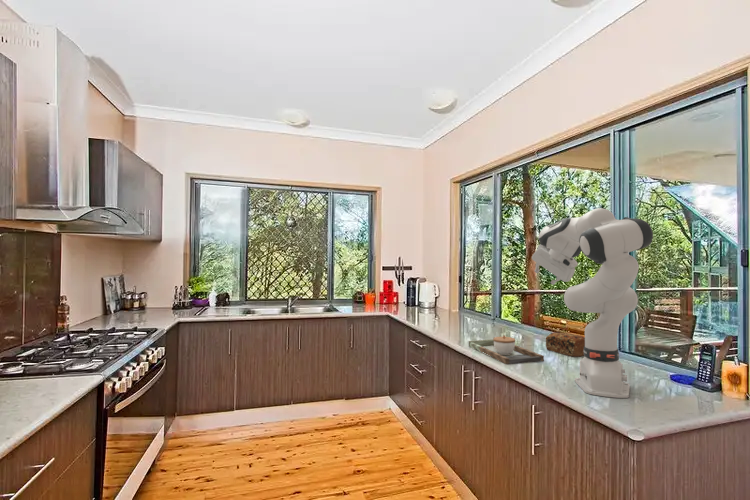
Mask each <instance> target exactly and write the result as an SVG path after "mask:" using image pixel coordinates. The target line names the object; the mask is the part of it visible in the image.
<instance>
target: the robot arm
mask: <svg viewBox="0 0 750 500" xmlns="http://www.w3.org/2000/svg"><path fill="white" fill-rule="evenodd" d="M653 233H654V232H653V229H652V226H651V225H650V224H649V223H648V222H647V221H645V220H644V219H641V218H633V217H632V218H631V217H628V216H624V218H622V219H616V217H615V215H614V213H613V212H612V211H611V210H609V209H607V208H603V207H599V208H594V209H592V210H589V211H587V212H585V213H584V214H582V215H581V216H578V217H565V218H563V219H560V220H558V221H556V222H555V223H552V224H551V223H550V224H546V225H545V226H544V227H543V228H542V229H541V230H540V232H539V234H538V238H537V239H538V241H539V245H538V247H537V248H536V250H535V251H534V253H533V254H532V256H531V260H532V261H534V262H535V269H534V272H535V273H536V274H539V272H540V266H541V267H542V268H543V269H545V270H546V271H548V272H549V273H551V274H552V275H554V276H555V277H556V278H555V279H552V280H551V281H550V284H551V285H552V286H554V285H555V284H556V283H558V282H559V281H563V282H564V283H566V282H570V281H571V280H572V278H573V276H574V274H575V272H576V269H575V268H576V267H578V265H579V263H578V261H577V260H576V259H575V258H576V257H578V256H580V254H581V253H582V254H583V255H584V256H585V257H587V258H588V259H589V260H591V261H594V263H595V264H597V265H598V264H599V265H600V267H599V269H598V270H597V272H596V273H595V275H594V276H592V277H591V278H589V279H587V280H585V281H584V282H582V283H579V284H576V285H571V286H569V287H568V288H566V290H565V292H564V295H563V301H564V304H565V307H567V309H568V310H570V311H572V312H579V313H585V314H587V313H589V314H590V313H592V314H593V313H595V314H599V317H598V318H597V319H596V320H594V321H592V322H589V323H588V324H587V325H586V326H585V328H584V338H585V346H584V349H583V352H584V356H583V358H581V359H580V360H579V377H575V378H574V382H575V383H576V384H577V385H578V387H580V389H581V390H582V391H583V392H584V393H585V394H588V395H594V396H598V397H599V396H600V397H605V398H617V399H627V398H629V397H630V389H631V388H630V387H631V385H630V383H627V382H628V375H626V374H625V373H626V369H624V367H623V363H622V362H621V361H620V353H619V349H618V333H619V327H620V324H621V323H622V321H623V320H624V318H626V316H627V315H628V314H630V313H631V312H633V311H635V309H636V308H637V306H638V304H639V301H638V300H639V299H638V294H637V292H636V291H635V290H634V289H633V288H632V287H631V286H632V285H633V283H634V282H635V280H636V278H637V275H638V274H639V269H640V265H639V262H638V260H637V259H636V258H635V257H634V256H633V255H630V254H629V253H631V252H634V251H636V250H637V251H641V250H643V249H645V248H647V247H648V246H650V245H651V244H652V241H653V239H654V235H653Z"/></svg>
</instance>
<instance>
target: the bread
mask: <svg viewBox="0 0 750 500" xmlns="http://www.w3.org/2000/svg"><path fill="white" fill-rule="evenodd" d="M584 346H585V336H583V335H577V334H572V333H565V332H564V333H563V332H551V333H550V334H548V335H547V336H546V337H545V348H546V350H547V351H551V352H554V353H556V354H557V353H558V354H561V355H565V356H567V357H572V358H573V357H575V358H579V357H584V352H583V349H584Z"/></svg>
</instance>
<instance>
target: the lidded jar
mask: <svg viewBox="0 0 750 500" xmlns="http://www.w3.org/2000/svg"><path fill="white" fill-rule="evenodd" d="M493 340H494V345H493V346H494V349H495V351H496V353H498V354H500V355H502V356H511V354H512V353H514V348H515V345H516V339H515V338H514V337H509V336H506V335H502V336H495V337H493Z"/></svg>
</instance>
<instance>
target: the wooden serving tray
mask: <svg viewBox="0 0 750 500" xmlns="http://www.w3.org/2000/svg"><path fill="white" fill-rule="evenodd" d="M469 346H470V347H469ZM488 346H489V347H490V346H494V340H493V339H482V340H481V339H479V340H478V339H477V340H468V347H469V348H471V347H472V348H471V349H473V348H474V349H473V350H475V349H477V350H479V351H478V352H480V351H481V352H480V353H482V352H484V353H486V354H488V355H490V356H492V357H493V359H494V358H495V360H496V359H497V360H496V361H498V360H499V361H498V362H501V363H503V364H505V365H511V364H512V365H513V364H515V365H516V364H524V363H535V362H536V363H537V362H544V361H545V355H543V354H539V353H538V352H535V351H532V350H529V349H527V348H524V347H521V346H518V345H516V344H515V348H514V350H513V352H517V353H519V354H517V355H501V354H498V352H495V351H493V350H491V349H488V348H486V347H488ZM477 350H476V351H477ZM484 353H483V354H484ZM486 354H485V355H486ZM488 355H487V356H488ZM490 356H489V357H490ZM492 357H491V358H492Z"/></svg>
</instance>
